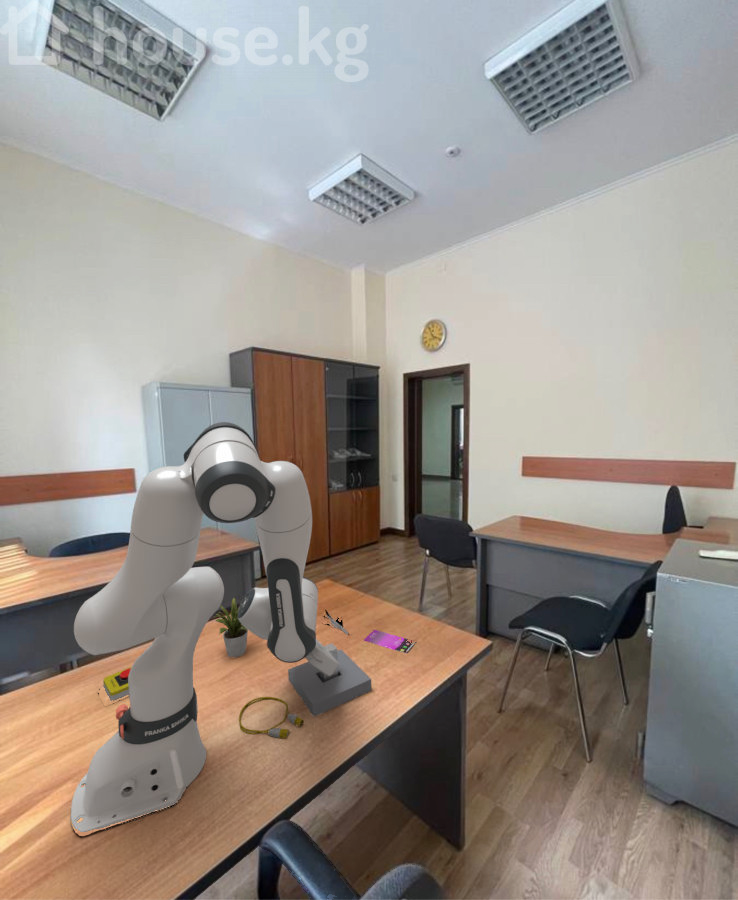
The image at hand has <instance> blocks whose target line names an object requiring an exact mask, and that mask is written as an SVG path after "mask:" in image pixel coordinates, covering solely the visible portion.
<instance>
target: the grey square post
mask: <svg viewBox="0 0 738 900" xmlns="http://www.w3.org/2000/svg"><path fill="white" fill-rule="evenodd" d="M323 646H324V647H325V648H326V649H327V651H328V652H329V653H330V654H331V655H332V656H333V657H334V658H335V659H336V660H337V661H338V652H337V651H338V648H337V646H336V645H335V644H333V643H331V642H330V643H329V644H327V645H323ZM336 677H338V666H337V668H336V670H335V671H334V673H333V674H332V675H331V676H328V675H326V674H324V673H323V672H321V671H320V670H319V679H320V680H321V681H322V682H323V683H324V682H326V681H328V680H331V679H333V678H336Z"/></svg>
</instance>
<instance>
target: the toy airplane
mask: <svg viewBox="0 0 738 900" xmlns="http://www.w3.org/2000/svg"><path fill="white" fill-rule="evenodd" d="M324 611H325V615H327V617H328V618H329V619H330V620H331V621H330V620H329V619H328V618H327V619H328V620H329V621H328V622H329V623H330V622H331V624H332V626H334V627H333V628H336V629H339V630H341V631H342V632H343V633H344V634H346V635H350V632H348V631H347V629H345V627H344V625H343V619H342V620H341V622H339V621H338V619H339V618H338V617H337V618H338V619H337V618H336V619H337V620H336V619H334V618H333V617H332V615H331V614H330V612H328V611H327V609H324ZM329 614H330V615H331V616H330V615H329ZM335 620H336V621H335ZM333 624H334V625H333ZM329 625H330V624H329ZM332 626H331V627H332Z"/></svg>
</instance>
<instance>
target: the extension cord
mask: <svg viewBox="0 0 738 900" xmlns="http://www.w3.org/2000/svg"><path fill="white" fill-rule="evenodd" d="M266 700H269V701H270V700H271V701H275V702H279V703H282V704H284V706H285V707H286V709H285V713H284V717H283V719H282V721H280V722H279V723H278V724H276V725H274V726H271V727H270V728H268V729H266V730H257V729H249V728H246V727H244V726H243V724H242V715H243V713H244V711H245V709H247V708H248V707H249V706H251V705H253V704H256V703H258V702H261V701H266ZM287 713H288V714H287ZM286 717H287V719H288V720H289V722H291V723H292V725H294V726H297V727H299V728H301V725H302V726H304V725H305V720H304V719H303V718H301V717H300V715H298V714H293V713H291V711H290V710H288V702H286V701H285V700H283V699H281V698H278V697H275V696H274V697H273V696H260V697H256V698H253V699H251V700H250V701H248V702H246V704H244V706H243V707H242V708H241V709H240V713H239V715H238V722H239V724H238V725H239V728H240V731H241V732H243V733H245V734H246V735H247V734H249V735H258V734H262V733H263V734H268V736H270V737H273V738H276V739H287V737H288V736H289V734H290V730H289V729H288V728H280V727H279V726H280V725H282V724H283V723H284V722H285V720H286ZM276 727H277V728H276Z"/></svg>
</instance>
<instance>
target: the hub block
mask: <svg viewBox="0 0 738 900" xmlns="http://www.w3.org/2000/svg"><path fill="white" fill-rule="evenodd" d="M337 652H338V663H339V664H338V677H336V678H333V679H331V680H328V681H326V682H324V683H323V682H322V681H321V680H320V679H319V669H317V668H316V667H314V666H313V665H312V664H311V663H310V662H308V661H307V662H304V663H302V664H299V665H295V666H292V667H290V668H289V669H287V670H288V673H287V674H288V682H289V683H290V685H291V686H292V688H293V689H294V691H296V693H297V695H298V696H299V697H300V699H301V701H303V702H302V703H304V705H305V707H306V708H307V710H308V712H310V714H311V715H312V717H313V718H315V717H317V716H320V715H322V714H324V713H326V712H328V711H330V710H332V709H334V708H336V707H338V706H341V705H343V704H345V703H347V702H349V701H352V700H354V699H356V698H359V697H361V696H362V695H364V694H367V693H369V692H371V691H372V678H371V677H370V676H369V675H368V674H367V673H366V672H365V671H364V670H363V669H362V668H361V667H359V666H358V664H357V663H356V662H355V661H354V660H353V659H351V658H350V656H349V655H347V653H346V652H344V651H343V650H342V649H337Z"/></svg>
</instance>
